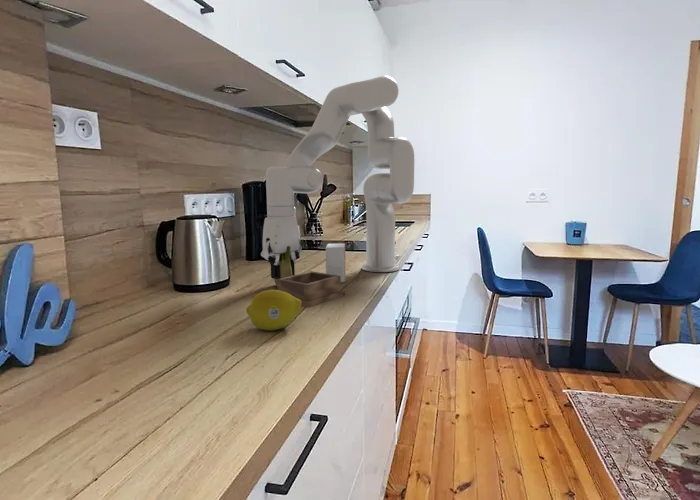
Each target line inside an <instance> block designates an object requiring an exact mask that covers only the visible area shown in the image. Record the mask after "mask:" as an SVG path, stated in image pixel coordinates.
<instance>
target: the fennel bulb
mask: <svg viewBox="0 0 700 500" xmlns="http://www.w3.org/2000/svg"><path fill="white" fill-rule="evenodd" d="M274 259H275V256H274ZM278 265H280V279H281V278H285V277H289V276H292V268H291V264H290V246H287V250H286V253H283V254H280V256H279V262H278ZM273 281H274V283H275V285H276V286H277V279H274V278H273Z"/></svg>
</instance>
